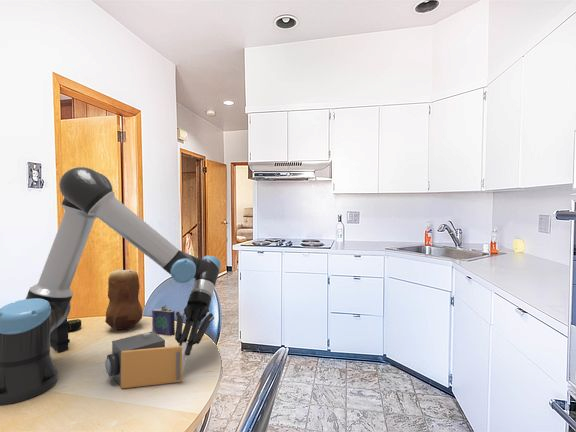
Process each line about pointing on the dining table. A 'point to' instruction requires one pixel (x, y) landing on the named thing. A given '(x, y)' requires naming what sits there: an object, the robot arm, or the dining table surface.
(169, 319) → the flask
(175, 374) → the side door
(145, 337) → the block
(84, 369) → the dining table surface
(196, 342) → the robot arm
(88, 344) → the dining table surface
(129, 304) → the butternut squash
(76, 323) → the tape measure
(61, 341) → the black upright slab
